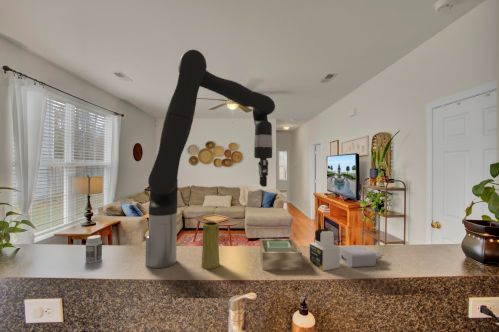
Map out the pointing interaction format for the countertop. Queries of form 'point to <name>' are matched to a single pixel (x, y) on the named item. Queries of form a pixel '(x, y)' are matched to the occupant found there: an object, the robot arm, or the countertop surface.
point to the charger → (358, 256)
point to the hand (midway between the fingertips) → (263, 185)
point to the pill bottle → (93, 249)
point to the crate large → (280, 256)
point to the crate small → (279, 247)
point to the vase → (210, 245)
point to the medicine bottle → (324, 251)
